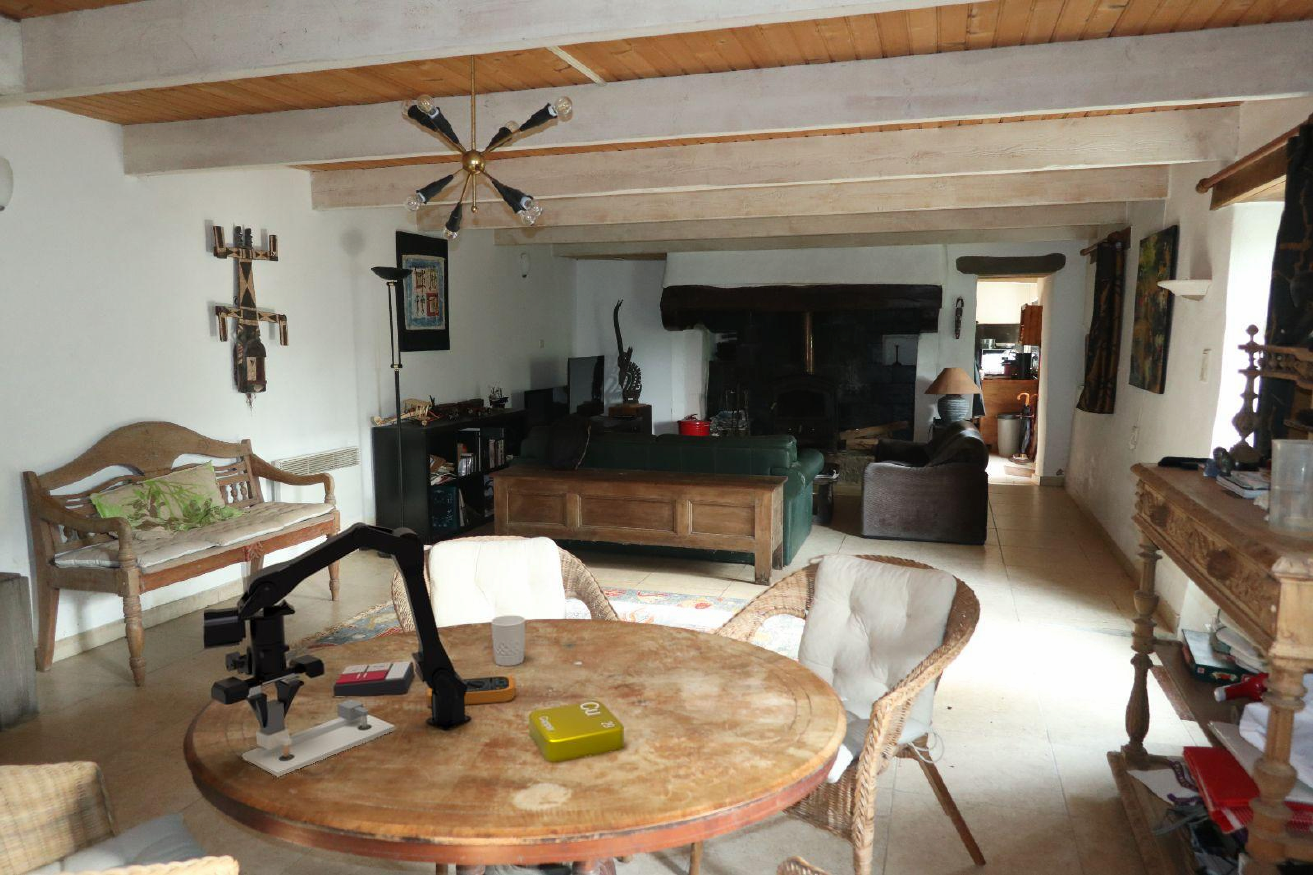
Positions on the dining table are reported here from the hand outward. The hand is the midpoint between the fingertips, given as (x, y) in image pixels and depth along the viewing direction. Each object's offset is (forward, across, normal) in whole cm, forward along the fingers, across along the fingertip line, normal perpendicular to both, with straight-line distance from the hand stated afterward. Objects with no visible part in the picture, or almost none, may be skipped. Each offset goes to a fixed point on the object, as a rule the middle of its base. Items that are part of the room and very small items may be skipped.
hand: (272, 724), depth 161 cm
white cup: (+6, -60, -2) cm, 60 cm away
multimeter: (+7, -40, +8) cm, 41 cm away
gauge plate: (+6, -8, +2) cm, 10 cm away
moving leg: (+5, 0, +2) cm, 5 cm away
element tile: (+7, -38, +39) cm, 55 cm away
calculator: (+7, -31, -14) cm, 35 cm away
